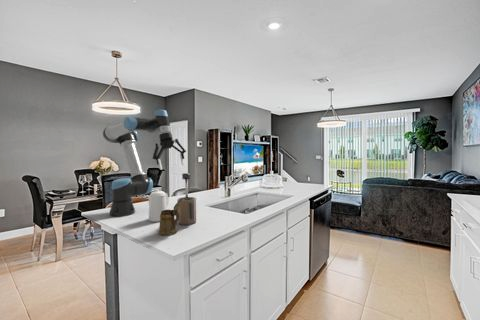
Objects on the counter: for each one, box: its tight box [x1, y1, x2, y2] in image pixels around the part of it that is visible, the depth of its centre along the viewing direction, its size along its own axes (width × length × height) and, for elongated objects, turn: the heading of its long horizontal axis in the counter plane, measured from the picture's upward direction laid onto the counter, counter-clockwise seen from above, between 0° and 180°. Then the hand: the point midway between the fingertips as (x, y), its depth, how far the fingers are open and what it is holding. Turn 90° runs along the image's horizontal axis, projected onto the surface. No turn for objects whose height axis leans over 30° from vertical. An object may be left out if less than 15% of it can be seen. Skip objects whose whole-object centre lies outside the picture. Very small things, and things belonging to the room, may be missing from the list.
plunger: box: [181, 172, 191, 200], centre depth 134 cm, size 6×6×18 cm
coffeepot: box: [144, 188, 169, 223], centre depth 141 cm, size 11×25×19 cm, turn 168°
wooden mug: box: [157, 199, 183, 237], centre depth 117 cm, size 9×14×18 cm, turn 73°
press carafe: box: [176, 196, 197, 226], centre depth 134 cm, size 12×10×14 cm
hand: (172, 167), depth 143 cm, fingers open, 13 cm apart
